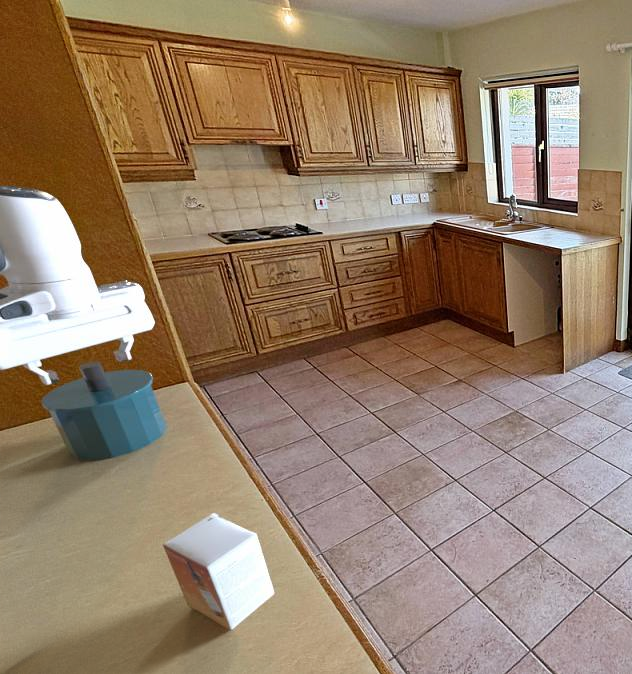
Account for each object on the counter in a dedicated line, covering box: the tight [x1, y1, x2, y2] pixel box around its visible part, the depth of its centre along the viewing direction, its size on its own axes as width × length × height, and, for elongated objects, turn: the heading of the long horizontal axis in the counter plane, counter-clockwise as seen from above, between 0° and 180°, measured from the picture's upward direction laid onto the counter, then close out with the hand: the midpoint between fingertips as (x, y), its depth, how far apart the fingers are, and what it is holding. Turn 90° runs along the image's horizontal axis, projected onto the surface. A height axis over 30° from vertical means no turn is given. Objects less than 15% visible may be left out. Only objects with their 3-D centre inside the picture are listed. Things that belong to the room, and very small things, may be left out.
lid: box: [41, 361, 154, 412], centre depth 81 cm, size 14×14×6 cm
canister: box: [48, 384, 168, 462], centre depth 84 cm, size 13×13×10 cm
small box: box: [162, 512, 275, 631], centre depth 57 cm, size 8×6×10 cm
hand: (89, 370), depth 80 cm, fingers open, 8 cm apart
